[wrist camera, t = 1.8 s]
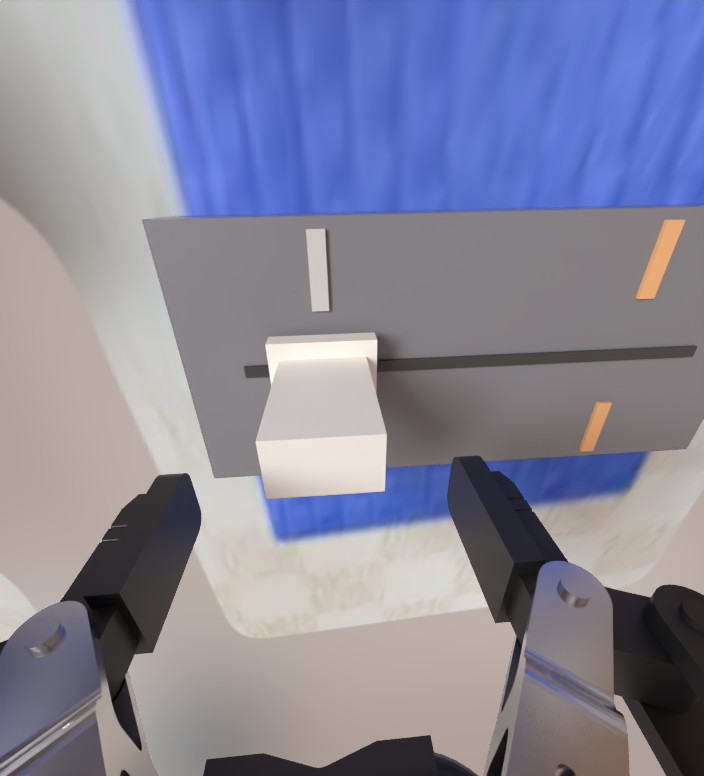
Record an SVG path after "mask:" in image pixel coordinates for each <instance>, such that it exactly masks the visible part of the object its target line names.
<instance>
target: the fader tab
mask: <svg viewBox="0 0 704 776" xmlns="http://www.w3.org/2000/svg"><path fill="white" fill-rule="evenodd" d="M265 347H266V354H267V360H268V367H269V374H270V380H271V389H270V393H269V396H268V400H267V403H266V407H265V410H264V413H263V417H262V420H261V424H260V427H259V431H258V434H257V438H256V441H255V442H256V447H257V453H258V458H259V463H260V468H261V474H262V479H263V484H264V489H265V494H266V499H275V498H290V497H305V496H320V495H336V494H351V493H366V492H381V491H385V471H386V444H387V433H386V429H385V425H384V421H383V418H382V414H381V410H380V406H379V403H378V399H377V395H376V389H377V338H376V335H375V332H371V333H347V334H323V335H299V336H275V337H268V339H267V341H266V344H265Z"/></svg>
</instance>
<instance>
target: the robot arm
mask: <svg viewBox="0 0 704 776" xmlns="http://www.w3.org/2000/svg"><path fill="white" fill-rule="evenodd" d="M447 498H448V506H449V511H450V514H451V516H452V519H453V521H454V524H455V526H456V529H457V531H458V533H459V536H460V538H461V541H462V543H463V546H464V548H465V550H466V553H467V555H468V558H469V560H470V563H471V565H472V567H473V570H474V572H475V575H476V577H477V580H478V582H479V584H480V587H481V589H482V592H483V594H484V597H485V599H486V601H487V604H488V606H489V609H490V611H491V613H492V616H493V618H494V621H495V623H501V622H511V625H512V627H513V629H514V631H515V633H516V636H515V639H514V643H513V647H512V652H511V657H510V661H509V666H508V671H507V675H506V681H505V685H504V689H503V694H502V699H501V704H500V708H499V713H498V717H497V722H496V725H495V729H494V732H493V736H492V739H491V743H490V747H489V751H488V756H487V760H486V764H485V768H484V773H483V776H629V753H628V752H629V751H628V733H627V726H626V722H625V719H624V716H623V714H622V713H620V712H619V711H617V710H616V708H615V704H614V694H615V695H619V696H622V697H623V699H624V701H625V703H626V704H627V706H628V708H629V710H630V711H631V713H632V715H633V717H634V718H635V720H636V722H637V724H638V726H639V728H640V729H641V731H642V733H643V735H644V737H645V738H646V740H647V742H648V744H649V745H650V747H651V749H652V751H653V752H654V754H655V756H656V758H657V760H658V761H659V763H660V765H661V767H662V769H663V770H664V772H665V774H666V776H704V595H702V594H700V593H698V592H696V591H694V590H691V589H688V588H685V587H682V586H677V585H663V586H660V587H659V588H657V589H656V591H655V592H654V594H653V595H652V597H651V598H650V597H646V596H641V595H637V594H632V593H628V592H623V591H619V590H614V589H611V588H607V587H604V586H603V585H602V584H601V582H600V581H599V580H598V579H597V578H595V577H594V576H593V575H592V574H591V573H589V572H588V571H586V570H585V569H583V568H581V567H579V566H577V565H575V564H572V563H569V562H568V561H567V559H566V558H565V557H564V555H563V554H562V552H561V551H560V549H559V548H558V546H557V545H556V544H555V542H554V541H553V539H552V538H551V536H550V535H549V533H548V532H547V530H546V529H545V528H544V526H543V525H542V523H541V522H540V520H539V519H538V517H537V516H536V514H535V513H534V512H532V509H531V507H530V506H529V504H528V503H527V501H526V500H524V497H523V496H522V494H521V493H520V491H519V490H518V488H517V487H516V485H515V484H514V483H513V482H512V481H511V480H510V479H508V478H507V477H506V476H504V475H503V474H502V473H501V472H499V471H494V472H491V471H490V470H489V468H488V467H487V465H486V463H485V462H484V460H483V459H482V457H481V456H479V455H476V456H460V457H454V458H453V461H452V466H451V473H450V480H449V487H448V494H447ZM200 526H201V510H200V507H199V503H198V500H197V497H196V494H195V491H194V488H193V485H192V481H191V478H190V476H189V475H188V474H187V473H183V474H167V475H159V476H158V477H157V478H156V479H155V480H154V482H153V484H152V485H151V487H150V489H149V490H148V492H147V493H146V494H139V495H138V496H137V497H136V498H134V499H133V500H132V501H131V502H130V503H128V504H127V505H126V506H125V507H124V508H123V509H122V510H121V512H120V513H119V515H118V516H117V518H116V519H115V520H114V522H113V523H112V525H111V529H108V531H107V532H106V534H105V535H104V537H103V539H102V542H101V543H99V545H98V546H97V548H96V549H95V551H94V552H93V553H92V555H91V557H90V558H89V560H88V561H87V562H86V564H85V565H84V567H83V568H82V570H81V571H80V573H79V574H78V576H77V577H76V579H75V581H74V582H73V583H72V585H71V586H70V588H69V590H68V591H67V592H66V594H65V595H64V597H63V598H62V600H61V601H60V602H59V603H57V604H54V605H52V606H49V607H47V608H45V609H43V610H41V611H40V612H38V613H36V614H35V615H34V616H32V617H31V618H29V619H28V620H27V621H26V622H25V623H23V624H22V625H21V626H20V627H19V628H18V629H17V630H16V631H15V632H14V634H13V635H12V636H11V637H10V638H9V640H6V641H4V642H1V643H0V776H158V774H157V772H156V769H155V767H154V765H153V763H152V760H151V757H150V754H149V751H148V747H147V743H146V739H145V735H144V731H143V727H142V723H141V719H140V715H139V711H138V708H137V703H136V700H135V695H134V692H133V688H132V684H131V680H130V676H129V673H128V672H127V671H128V668H129V666H130V663H131V661H132V659H133V656H134V654H141V653H142V654H143V653H152V652H153V650H154V648H155V645H156V643H157V640H158V637H159V635H160V632H161V630H162V627H163V624H164V621H165V619H166V617H167V614H168V611H169V609H170V606H171V603H172V600H173V598H174V596H175V593H176V590H177V588H178V585H179V583H180V580H181V577H182V575H183V572H184V570H185V567H186V564H187V561H188V559H189V556H190V554H191V551H192V549H193V546H194V543H195V541H196V538H197V536H198V533H199V530H200ZM203 776H478V775H477V774H475V773H474V772H473V771H472V770H470V769H469V768H467V767H465V766H464V765H462V764H461V763H459V762H457V761H456V760H453V759H451V758H449V757H447V756H444V755H442V754H438V753H435V752H434V751H433V746H432V741H431V736H430V735H428V736H419V737H410V738H401V739H391V740H383V741H376V742H374V743H372V744H370V745H368V746H366V747H364V748H362V749H360V750H358V751H356V752H354V753H352V754H350V755H348V756H346V757H344V758H342V759H340V760H338V761H336V762H334V763H332V764H330V765H328V766H325V767H323V768H314V767H311V766H307V765H303V764H299V763H296V762H292V761H289V760H285V759H281V758H278V757H274V756H271V755H267V754H253V755H244V756H235V757H226V758H216V759H208V760H207V761H206V765H205V770H204V775H203Z"/></svg>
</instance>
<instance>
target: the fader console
mask: <svg viewBox="0 0 704 776" xmlns="http://www.w3.org/2000/svg"><path fill="white" fill-rule="evenodd" d="M142 221H143V224H144V228H145V231H146V235H147V238H148V242H149V246H150V249H151V253H152V256H153V260H154V263H155V267H156V271H157V274H158V278H159V281H160V285H161V288H162V292H163V296H164V299H165V303H166V306H167V310H168V314H169V317H170V321H171V324H172V328H173V331H174V335H175V339H176V342H177V346H178V349H179V353H180V356H181V360H182V364H183V367H184V371H185V374H186V378H187V381H188V385H189V389H190V392H191V396H192V399H193V403H194V406H195V410H196V414H197V417H198V421H199V424H200V428H201V431H202V435H203V439H204V442H205V446H206V449H207V453H208V456H209V460H210V464H211V467H212V471H213V474H214V478H227V477H243V476H259V475H262V474H261V468H260V463H259V458H258V453H257V447H256V442H255V441H256V438H257V434H258V431H259V427H260V424H261V420H262V417H263V413H264V410H265V407H266V403H267V400H268V396H269V393H270V389H271V380H270V374H269V367H268V360H267V354H266V347H265V344H266V341H267V339H268V337H275V336H299V335H323V334H347V333H371V332H375V335H376V338H377V389H376V395H377V399H378V403H379V406H380V410H381V414H382V418H383V421H384V425H385V429H386V433H387V444H386V468H388V467H404V466H420V465H436V464H452V461H453V458H454V457H460V456H476V455H479V456H481V457H482V459H483V460H484V461H500V460H517V459H533V458H549V457H565V456H581V455H597V454H613V453H629V452H645V451H662V450H678V449H687V447H688V445H689V444H690V442H691V440H692V438H693V436H694V435H695V433H696V431H697V429H698V428H699V426H700V424H701V422H702V420H703V419H704V204H696V205H654V206H611V207H568V208H525V209H482V210H439V211H396V212H353V213H310V214H268V215H225V216H182V217H164V218H154V219H145V220H142Z"/></svg>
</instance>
